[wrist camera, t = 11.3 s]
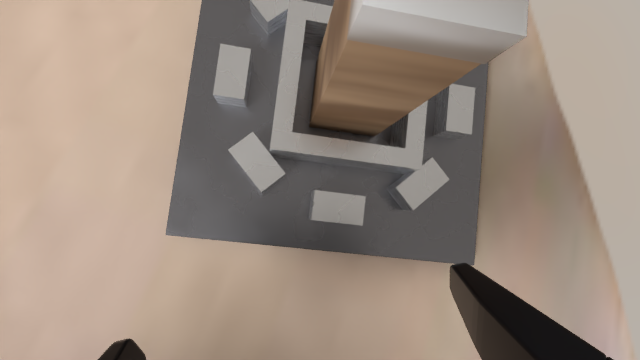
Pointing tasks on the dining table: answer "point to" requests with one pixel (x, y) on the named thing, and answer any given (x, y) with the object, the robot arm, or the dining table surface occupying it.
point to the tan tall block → (403, 55)
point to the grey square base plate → (317, 148)
